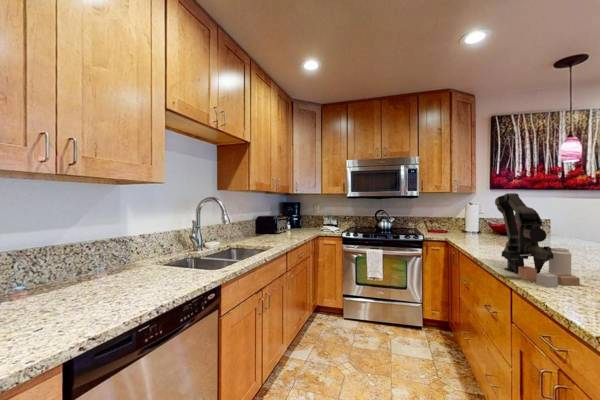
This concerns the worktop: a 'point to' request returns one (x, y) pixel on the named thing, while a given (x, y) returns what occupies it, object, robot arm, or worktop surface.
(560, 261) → the can
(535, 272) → the terracotta cube
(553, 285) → the slate cube
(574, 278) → the walnut base
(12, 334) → the worktop surface
